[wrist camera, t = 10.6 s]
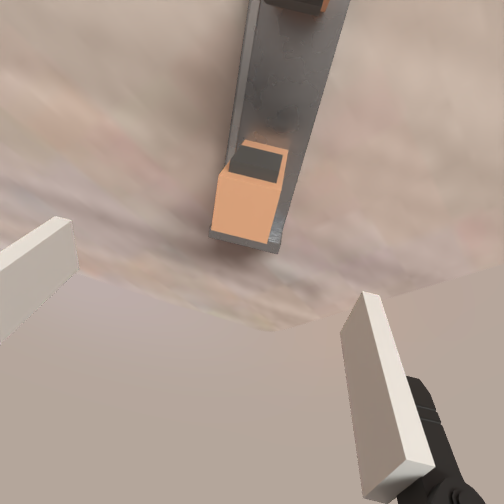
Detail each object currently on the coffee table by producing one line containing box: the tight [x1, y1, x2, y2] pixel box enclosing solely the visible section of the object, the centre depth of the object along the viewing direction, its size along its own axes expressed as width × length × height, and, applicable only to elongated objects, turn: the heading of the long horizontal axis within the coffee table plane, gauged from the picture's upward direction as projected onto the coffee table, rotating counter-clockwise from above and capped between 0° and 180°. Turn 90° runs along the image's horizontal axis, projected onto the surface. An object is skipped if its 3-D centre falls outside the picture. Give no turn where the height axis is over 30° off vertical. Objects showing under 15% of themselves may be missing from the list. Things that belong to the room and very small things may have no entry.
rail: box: [209, 0, 350, 254], centre depth 24 cm, size 7×28×5 cm, turn 168°
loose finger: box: [211, 140, 288, 244], centre depth 25 cm, size 4×8×10 cm, turn 168°
